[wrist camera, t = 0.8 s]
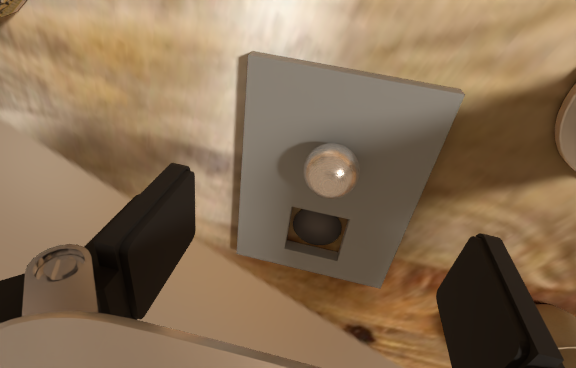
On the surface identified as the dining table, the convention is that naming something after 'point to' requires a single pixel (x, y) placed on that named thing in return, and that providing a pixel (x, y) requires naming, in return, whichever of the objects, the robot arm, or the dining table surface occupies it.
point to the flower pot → (561, 331)
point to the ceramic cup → (10, 6)
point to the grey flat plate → (350, 133)
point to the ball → (331, 171)
